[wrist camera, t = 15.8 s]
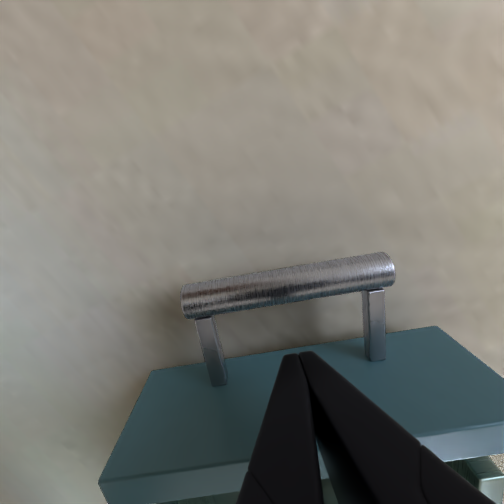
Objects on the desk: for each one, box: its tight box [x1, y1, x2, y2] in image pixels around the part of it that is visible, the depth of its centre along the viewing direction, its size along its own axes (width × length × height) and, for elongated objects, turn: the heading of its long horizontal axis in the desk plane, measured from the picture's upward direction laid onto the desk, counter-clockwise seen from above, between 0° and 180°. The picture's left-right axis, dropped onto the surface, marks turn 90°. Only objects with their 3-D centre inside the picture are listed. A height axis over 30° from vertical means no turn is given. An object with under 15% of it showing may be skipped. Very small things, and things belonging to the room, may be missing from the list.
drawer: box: [98, 252, 504, 504], centre depth 10 cm, size 17×12×4 cm
